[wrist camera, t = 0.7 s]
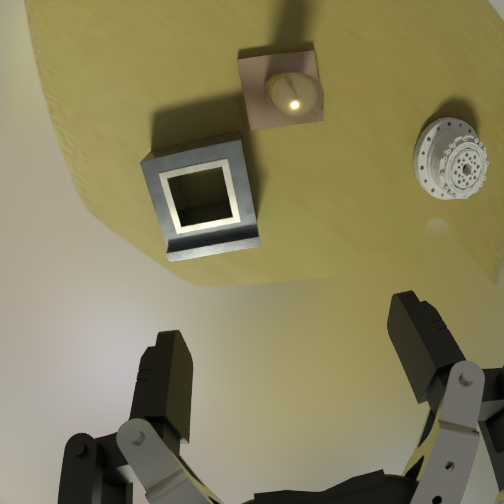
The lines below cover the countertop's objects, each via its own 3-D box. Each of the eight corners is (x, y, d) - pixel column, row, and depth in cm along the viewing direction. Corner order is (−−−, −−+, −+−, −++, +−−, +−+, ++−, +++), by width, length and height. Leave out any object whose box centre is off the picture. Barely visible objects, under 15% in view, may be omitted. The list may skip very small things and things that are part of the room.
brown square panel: (237, 60, 25) (237, 59, 24) (311, 50, 25) (314, 50, 24) (250, 129, 29) (250, 131, 28) (321, 119, 29) (323, 120, 28)
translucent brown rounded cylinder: (260, 74, 25) (270, 75, 19) (297, 70, 25) (320, 70, 18) (266, 109, 27) (278, 123, 20) (302, 104, 27) (326, 117, 20)
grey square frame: (150, 151, 29) (137, 166, 25) (239, 131, 29) (241, 142, 25) (176, 236, 35) (169, 262, 31) (256, 221, 34) (260, 246, 30)
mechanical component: (485, 147, 30) (439, 99, 27) (507, 159, 27) (463, 106, 24) (447, 208, 35) (397, 168, 32) (465, 224, 31) (415, 182, 28)
